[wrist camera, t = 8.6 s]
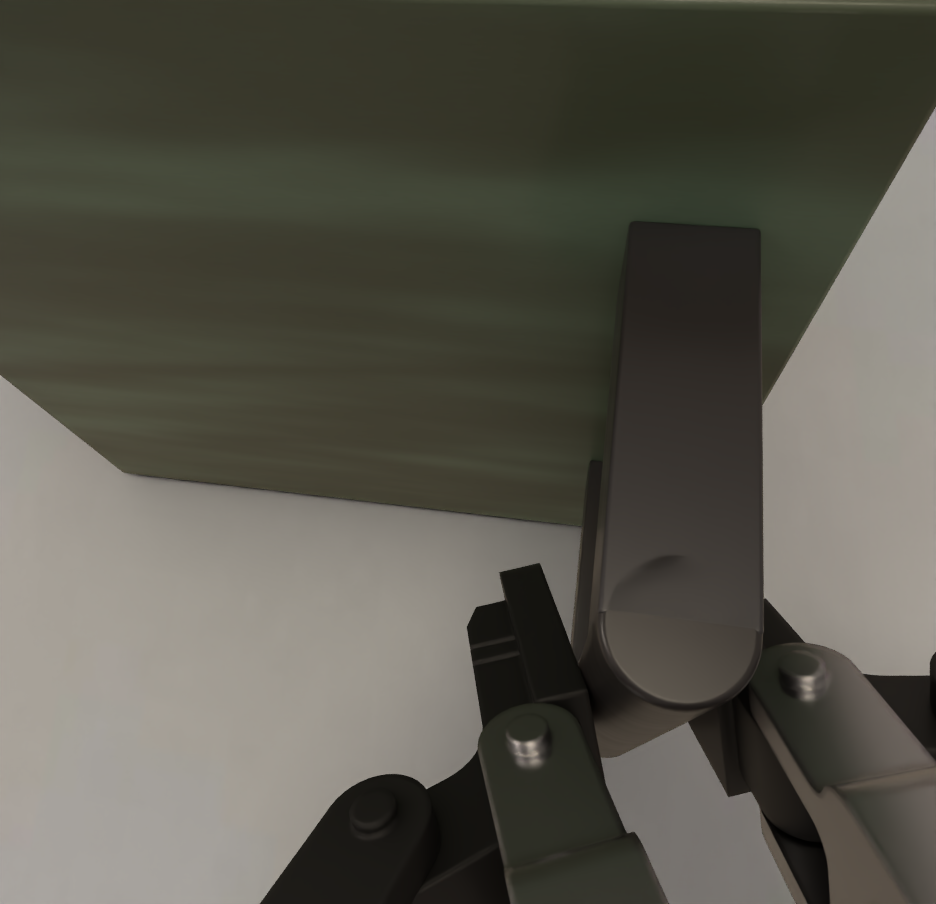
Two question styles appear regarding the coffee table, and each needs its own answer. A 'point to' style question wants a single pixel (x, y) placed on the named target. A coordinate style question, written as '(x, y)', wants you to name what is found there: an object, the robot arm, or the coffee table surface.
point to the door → (459, 267)
